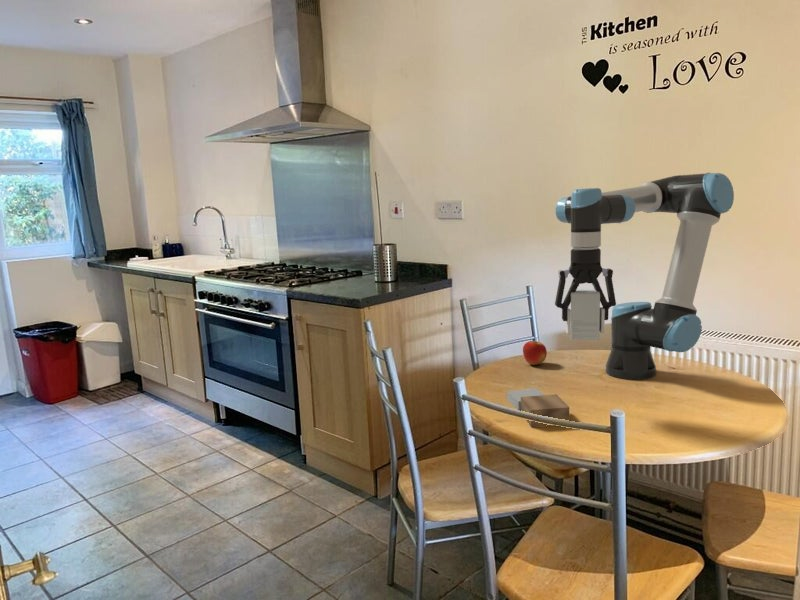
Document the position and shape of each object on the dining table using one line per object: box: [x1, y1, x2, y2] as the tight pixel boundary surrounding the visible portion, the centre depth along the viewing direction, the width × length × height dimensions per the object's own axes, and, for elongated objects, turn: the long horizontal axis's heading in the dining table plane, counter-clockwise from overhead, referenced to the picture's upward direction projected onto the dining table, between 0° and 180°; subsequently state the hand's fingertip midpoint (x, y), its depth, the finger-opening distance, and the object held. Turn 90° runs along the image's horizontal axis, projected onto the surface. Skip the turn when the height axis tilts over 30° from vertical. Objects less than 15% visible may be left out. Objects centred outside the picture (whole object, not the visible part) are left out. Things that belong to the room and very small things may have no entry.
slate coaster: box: [506, 387, 545, 411], centre depth 164 cm, size 9×9×3 cm
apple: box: [522, 337, 548, 366], centre depth 200 cm, size 8×8×10 cm
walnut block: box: [520, 394, 570, 428], centre depth 152 cm, size 10×10×5 cm
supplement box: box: [570, 288, 601, 341], centre depth 153 cm, size 7×7×13 cm
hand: (584, 332), depth 154 cm, fingers closed on supplement box, 8 cm apart
